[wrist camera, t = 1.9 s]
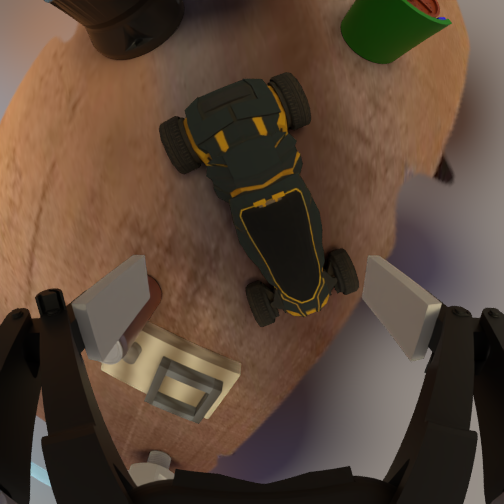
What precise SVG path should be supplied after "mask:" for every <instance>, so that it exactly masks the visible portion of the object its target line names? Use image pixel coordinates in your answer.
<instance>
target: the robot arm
mask: <svg viewBox="0 0 504 504" xmlns="http://www.w3.org/2000/svg"><path fill="white" fill-rule="evenodd" d="M44 1H45V2H48V3H51V4H52V5H54V6H55V7H57V8H58V9H60V10H62V11H63V12H64V13H66V14H68V15H69V16H70V17H72V18H73V19H75V20H76V21H78V22H79V23H81V24H82V25H83V26H85V27H86V29H87V32H88V34H89V37H90V39H91V41H92V43H93V46H94V47H95V48H96V49H97V50H98V51H99V52H100V53H102V54H103V55H105V56H106V57H108V58H111V59H117V60H123V59H130V58H134V57H138V56H140V55H143V54H145V53H147V52H149V51H151V50H153V49H155V48H156V47H158V46H159V45H160V44H162V43H163V42H164V41H166V40H167V39H168V38H169V37H170V36H171V35H172V34H173V33H174V31H175V30H176V29H177V27H178V26H179V24H180V22H181V20H182V18H183V14H184V4H183V1H182V0H44ZM35 299H36V303H37V306H38V310H39V313H40V318H34V319H31V315H30V312H29V310H28V309H26V308H20V309H19V308H17V309H14V310H12V312H10V313H9V314H8V315H7V316H6V318H5V319H4V321H3V322H2V324H1V325H0V504H29V501H30V469H31V452H32V441H33V431H34V424H35V417H36V411H37V405H38V400H39V395H40V390H41V386H42V396H43V405H44V412H45V419H46V425H47V431H48V436H44V437H42V439H41V445H42V451H43V455H44V460H45V464H46V468H47V472H48V476H49V480H50V483H51V487H52V490H53V493H54V496H55V499H56V502H57V504H463V502H464V499H465V496H466V492H467V489H468V485H469V481H470V477H471V473H472V468H473V463H474V458H475V452H476V446H477V440H478V439H477V437H478V436H477V432H476V431H471V430H469V428H470V421H471V412H472V402H473V396H474V401H475V406H476V411H477V417H478V422H479V430H480V437H481V445H482V456H483V472H484V473H483V474H484V495H485V502H486V504H504V314H503V313H502V312H500V311H499V310H498V309H496V308H485V309H483V311H482V314H481V317H480V318H472V315H471V313H470V312H469V311H468V310H466V309H464V308H463V307H459V306H450V307H447V306H446V305H444V304H443V303H442V302H441V301H440V300H438V299H437V298H436V297H435V296H432V294H431V293H429V292H428V291H427V290H425V289H423V288H422V287H421V286H419V285H418V284H417V283H415V282H414V281H413V280H411V279H410V278H409V277H408V276H406V275H405V274H404V273H402V272H401V271H399V270H398V269H397V268H395V267H394V266H393V265H391V264H390V263H389V262H387V261H386V260H384V259H383V258H382V257H380V256H368V259H367V267H366V275H365V282H364V288H363V294H362V299H363V300H364V301H365V303H366V304H367V305H368V306H369V307H370V309H371V310H372V311H373V313H374V314H375V315H376V316H377V318H378V319H379V320H380V321H381V323H382V324H383V325H384V327H385V328H386V329H387V330H388V332H389V333H390V334H391V336H392V337H393V338H394V340H395V341H396V342H397V344H398V345H399V346H400V348H401V349H402V350H403V352H404V353H405V354H406V356H407V357H408V359H409V360H410V361H415V360H420V359H424V357H425V354H426V352H427V349H428V347H429V348H430V349H431V351H432V354H431V357H430V360H429V362H428V364H427V367H426V369H425V373H426V375H425V379H424V382H423V386H422V389H421V392H420V396H419V398H418V402H417V404H416V407H415V410H414V413H413V416H412V419H411V421H410V424H409V427H408V429H407V431H406V434H405V437H404V439H403V441H402V443H401V446H400V448H399V450H398V452H397V455H396V457H395V459H394V461H393V463H392V465H391V467H390V469H389V471H388V473H387V475H386V476H385V478H384V479H383V481H381V480H378V479H375V478H369V477H363V476H353V475H352V471H351V468H350V466H348V467H342V468H336V469H330V470H323V471H315V472H308V473H305V474H302V475H299V476H296V477H292V478H288V479H285V480H281V481H277V482H272V483H268V484H259V483H254V482H249V481H245V480H240V479H236V478H232V477H228V476H224V475H221V474H214V473H203V472H194V471H186V470H179V469H176V470H175V475H174V479H165V480H158V481H154V482H149V483H146V484H143V485H140V486H138V487H137V485H136V484H135V482H134V481H133V479H132V478H131V476H130V474H129V472H128V471H127V469H126V467H125V465H124V463H123V461H122V459H121V457H120V455H119V453H118V451H117V449H116V447H115V445H114V443H113V441H112V438H111V436H110V434H109V432H108V429H107V427H106V425H105V422H104V420H103V417H102V415H101V412H100V410H99V407H98V404H97V401H96V399H95V396H94V393H93V390H92V387H91V384H90V381H89V378H88V375H87V371H86V368H85V364H84V361H83V358H82V355H81V352H82V351H83V350H84V348H85V350H86V353H87V355H88V358H89V359H91V360H96V361H101V362H103V361H104V359H105V358H106V356H107V355H108V354H109V352H110V351H111V349H112V348H113V347H114V345H115V344H116V343H117V341H118V340H119V338H120V337H121V336H122V334H123V333H124V332H125V330H126V329H127V328H128V326H129V325H130V324H131V322H132V321H133V320H134V318H135V317H136V316H137V314H138V313H139V312H140V310H141V309H142V308H143V307H144V305H145V304H146V303H147V301H148V300H149V299H150V292H149V285H148V278H147V270H146V262H145V255H133V256H131V257H130V258H129V259H127V260H126V261H124V262H123V263H122V264H120V265H119V266H118V267H116V268H115V269H114V270H112V271H111V272H110V273H109V274H107V275H106V276H105V277H103V278H102V279H101V280H99V281H98V282H97V283H96V284H94V285H93V286H92V287H91V288H89V289H88V290H86V291H84V292H83V293H82V294H81V295H80V296H78V297H77V298H76V300H73V301H72V302H71V303H70V304H68V305H67V306H66V305H65V301H64V297H63V293H62V291H61V290H60V289H48V290H45V291H42V292H40V293H39V294H37V295H36V297H35Z"/></svg>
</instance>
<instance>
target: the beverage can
mask: <svg viewBox="0 0 504 504" xmlns="http://www.w3.org/2000/svg"><path fill="white" fill-rule="evenodd" d="M147 278H148V285H149V292H150V299H149V300H148V301H147V303H146V304H145V305H144V307H143V308H142V309H141V310H140V312H139V313H138V314H137V316H136V317H135V318H134V320H133V321H132V322H131V324H130V325H129V326H128V328H127V329H126V330H125V332H124V333H123V334H122V336H121V337H120V338H119V340H118V341H117V343H116V344H115V345H114V347H113V348H112V349H111V351H110V352H109V354H108V355H107V356H106V358H105V359H104V361H103V362H101V361H99V362H101V363H104V364H109V365H112V364H116V363H118V362H119V361H120V360H121V359H122V358H124V357H125V356H126V354H127V353H128V351H129V349H130V348H131V346H132V345H133V343H134V341H135V340H136V338H137V337H138V335H139V334H140V332H141V331H142V329H143V328H144V326H145V324H146V323H147V321H148V320H149V318H150V317H151V315H152V314H153V312H154V311H155V309H156V308H157V306H158V305H159V303H160V301H161V290H160V287H159V285H158V284H157V282H156V281H155V280H154V279H153V278H151V277H149V276H147Z"/></svg>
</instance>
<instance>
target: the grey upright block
mask: <svg viewBox="0 0 504 504" xmlns="http://www.w3.org/2000/svg"><path fill="white" fill-rule="evenodd" d="M170 462H171V458H170V456H169V455H167V454H166V453H164V452H161V451H151V452H150V454H149V457H148V460H147V463H136V464H132V465H131V467H130V469H129V474H130V476H131V478H132V479H133V481H134V482H135V484H136V485H137V487H138V486H140V485H143V484H146V483H149V482H154V481H158V480H165V479H174V475H175V474H173V473H172V472H171V471H169V470H168V469H169V466H170Z"/></svg>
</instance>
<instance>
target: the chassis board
mask: <svg viewBox="0 0 504 504" xmlns="http://www.w3.org/2000/svg"><path fill="white" fill-rule="evenodd" d="M101 370H102V371H104V372H106V373H108V374H109V375H111V376H113V377H115V378H117V379H118V380H120V381H122V382H124V383H126V384H128V385H130V386H132V387H134V388H136V389H138V390H140V391H142V392H144V393H146V394H147V395H146V398H145V400H144V401H145V402H147V403H149V404H151V405H154V406H156V407H158V408H160V409H163V410H165V411H167V412H170V413H172V414H175V415H177V416H180V417H182V418H185V419H187V420H190V421H193V422H195V423H198V424H199V423H200V422H201V420H202V419H203V418H206V419H209V417H210V416H211V415H212V413H213V412H214V411H215V409H216V408H217V407H218V405H219V404H220V403H221V401H222V400H223V398H224V397H225V396H226V394H227V393H228V392H229V390H230V389H231V387H232V386H233V385H234V383H235V382H236V380H237V379H238V378H239V376H240V374H241V363H239V362H237V361H234V360H232V359H229V358H227V357H224V356H222V355H220V354H217V353H215V352H212V351H210V350H208V349H206V348H203V347H201V346H199V345H197V344H194V343H192V342H190V341H188V340H186V339H183V338H181V337H179V336H177V335H175V334H173V333H171V332H169V331H167V330H165V329H163V328H161V327H159V326H157V325H155V324H153V323H151V322H149V321H147V323H146V324H145V326H144V328H143V329H142V331H141V332H140V334H139V335H138V337H137V338H136V340H135V341H134V343H133V345H132V346H131V348H130V349H129V351H128V353H127V354H126V356H125V357H124V358H122V359H121V360H120V361H119V362H118V363H116V364H112V365H109V364H104V363H102V366H101Z"/></svg>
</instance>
